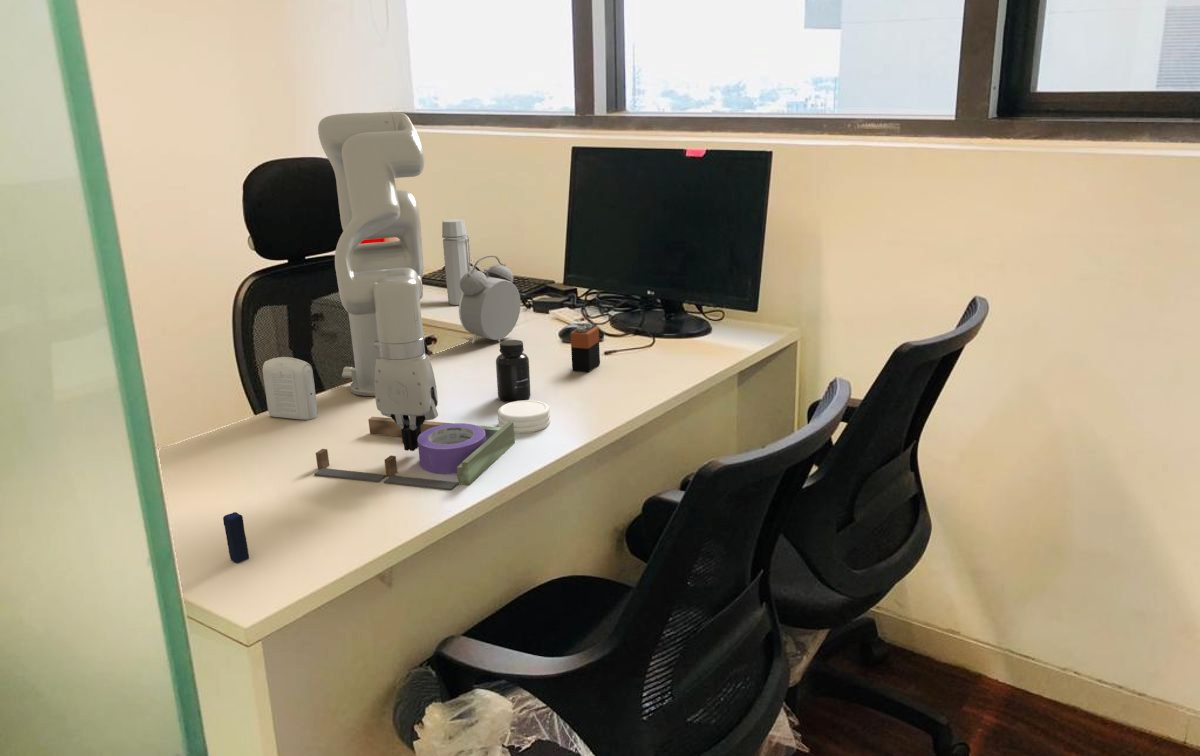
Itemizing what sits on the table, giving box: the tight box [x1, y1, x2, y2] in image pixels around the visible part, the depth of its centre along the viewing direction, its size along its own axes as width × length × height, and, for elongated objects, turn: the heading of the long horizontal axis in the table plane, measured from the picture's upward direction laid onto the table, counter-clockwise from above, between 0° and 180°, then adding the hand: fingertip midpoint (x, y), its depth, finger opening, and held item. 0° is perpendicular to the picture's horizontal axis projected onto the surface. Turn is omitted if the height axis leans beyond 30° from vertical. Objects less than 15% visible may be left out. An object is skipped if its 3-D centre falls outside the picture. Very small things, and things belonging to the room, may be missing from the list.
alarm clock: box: [458, 255, 522, 344], centre depth 233 cm, size 16×9×22 cm, turn 144°
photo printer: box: [262, 356, 319, 421], centre depth 184 cm, size 10×4×12 cm, turn 72°
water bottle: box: [441, 218, 476, 307], centre depth 274 cm, size 9×8×25 cm
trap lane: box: [315, 416, 516, 486], centre depth 163 cm, size 29×19×4 cm, turn 72°
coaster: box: [497, 399, 551, 434], centre depth 177 cm, size 10×10×4 cm
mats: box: [314, 467, 459, 491], centre depth 154 cm, size 26×2×1 cm, turn 72°
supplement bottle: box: [495, 339, 531, 403], centre depth 190 cm, size 7×7×12 cm
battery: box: [570, 322, 601, 373], centre depth 209 cm, size 4×7×10 cm, turn 157°
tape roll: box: [417, 422, 486, 475], centre depth 160 cm, size 12×12×5 cm
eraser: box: [222, 511, 250, 564], centre depth 129 cm, size 2×2×7 cm
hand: (412, 447), depth 163 cm, fingers closed
